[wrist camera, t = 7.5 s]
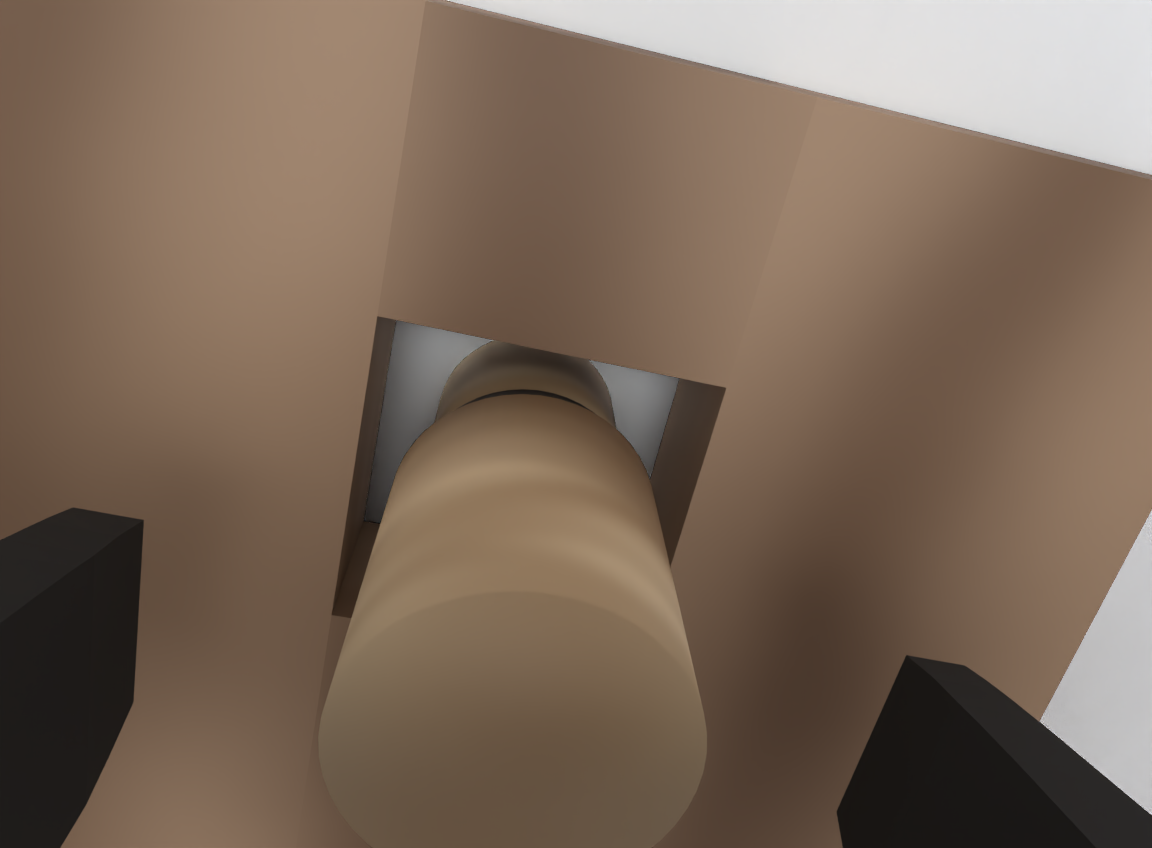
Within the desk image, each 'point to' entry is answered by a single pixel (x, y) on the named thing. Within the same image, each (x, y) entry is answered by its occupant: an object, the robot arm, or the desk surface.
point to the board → (561, 325)
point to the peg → (516, 631)
